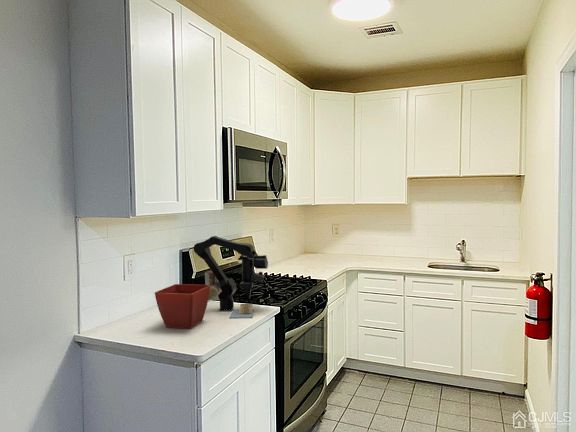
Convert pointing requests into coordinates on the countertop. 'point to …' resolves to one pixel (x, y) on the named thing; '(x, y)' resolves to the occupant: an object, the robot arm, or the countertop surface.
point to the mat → (236, 314)
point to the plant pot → (182, 304)
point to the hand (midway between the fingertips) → (248, 298)
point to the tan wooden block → (245, 308)
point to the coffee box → (212, 285)
